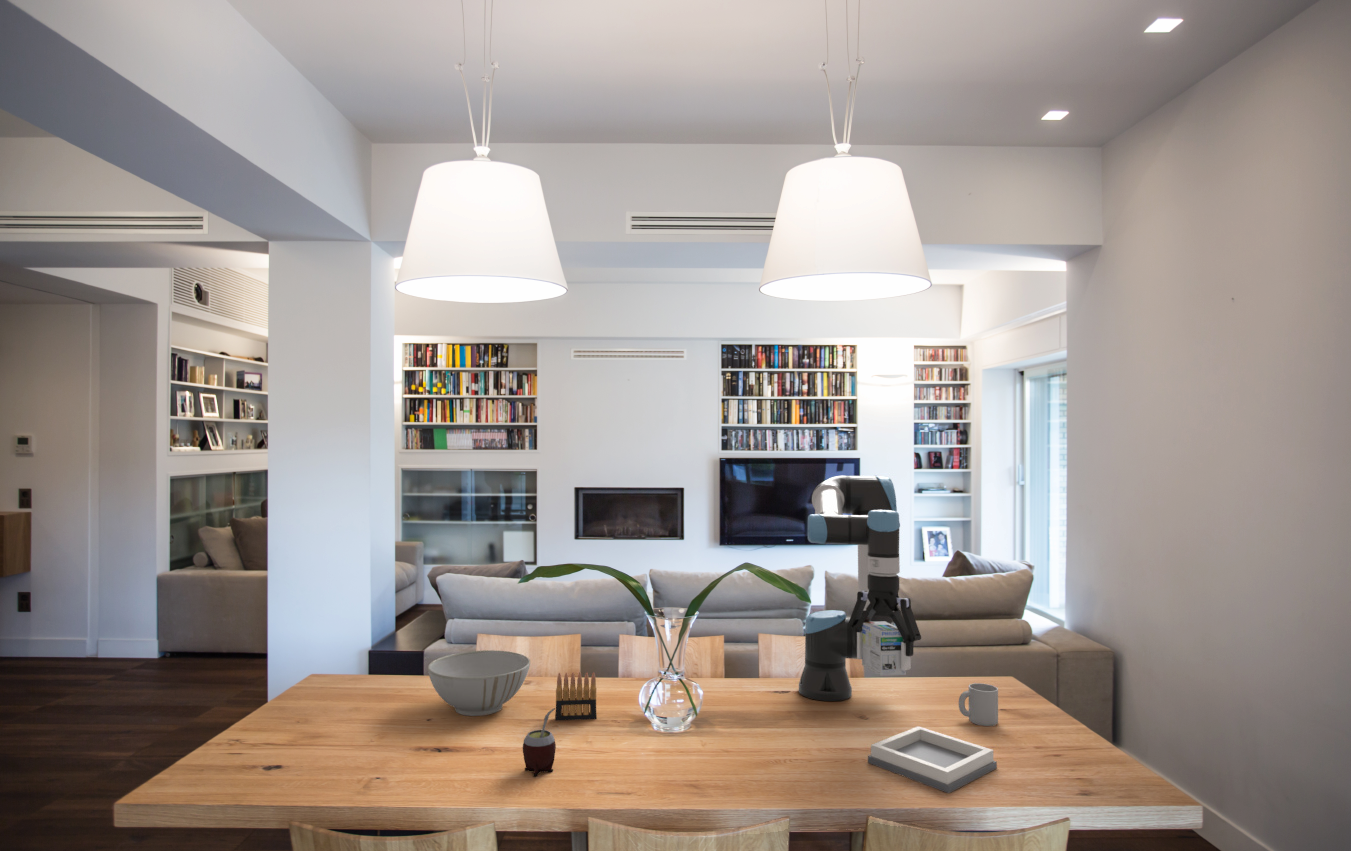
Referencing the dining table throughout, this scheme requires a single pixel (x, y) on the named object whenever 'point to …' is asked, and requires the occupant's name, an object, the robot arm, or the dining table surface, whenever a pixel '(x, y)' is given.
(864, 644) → the light bulb box
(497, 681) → the decorative bowl
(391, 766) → the dining table surface
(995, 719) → the cup
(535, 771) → the mate gourd
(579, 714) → the ammunition clip
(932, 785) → the socket dock
